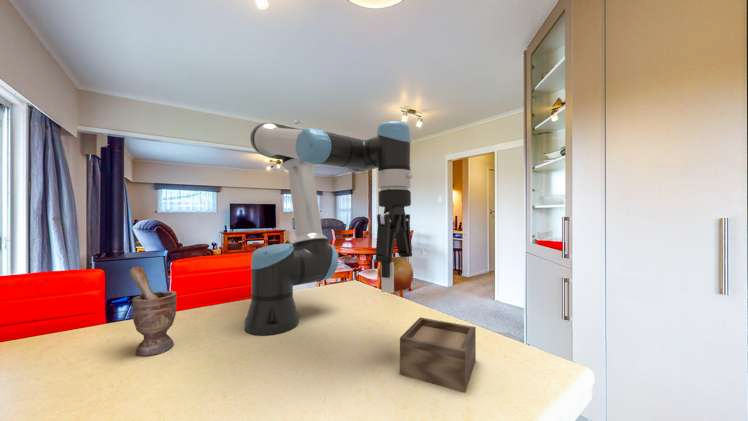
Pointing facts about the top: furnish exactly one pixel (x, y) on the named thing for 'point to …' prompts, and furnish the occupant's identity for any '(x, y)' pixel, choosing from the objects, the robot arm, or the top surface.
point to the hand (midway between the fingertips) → (395, 287)
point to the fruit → (401, 274)
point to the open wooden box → (439, 353)
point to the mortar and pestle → (152, 315)
